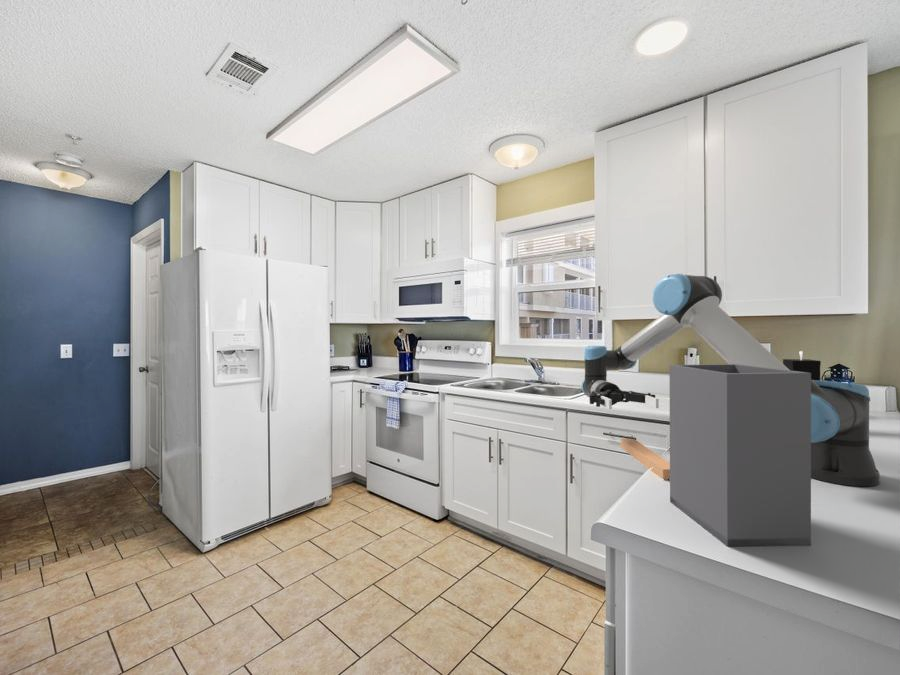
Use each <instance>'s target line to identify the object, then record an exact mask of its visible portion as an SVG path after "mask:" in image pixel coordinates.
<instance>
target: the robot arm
mask: <svg viewBox="0 0 900 675" xmlns="http://www.w3.org/2000/svg"><path fill="white" fill-rule="evenodd" d="M652 293H653V296H652V303H653V306H654V308H655V309H656V310H657V311H658V312H659V313H660V314H661V315H659V316H658V317H657V318H655V319H654V320H653V321H652V322H650V323H648V325H647V326H645V327H644V328H642V329H641V330H639V332H637V333H636V334H634V335H633V336H632V337H631V338H629V339H628V340H627V341H626V342H624V343H623V344H621V345H620V346H619V347H618V348H616V349H613V350H612V349H609V350H608V349H607V347H606V346H605V345H587V346H586V347H584V357H583V358H584V379H583V380H582V382H581V384H580V386H581V391H582V393H583V394H584V395H585V396H586V397H588V398H589V404H590V405H594V404H595V407H597V408H598V407H601V406H602V407H604V408H607V409H608V410H612V408H613V406H614V405H616V404H617V403H620V402H621V403H629V402H632V403H640V404H642V403H643V404H645V405H646V406H649V407H650V408H655V409H659V406H660V405H659V398H656V394H651V392H648V393H644V392H637V391H633V390H622V389H620V387H619V386H618V385H617V384H615V383H613V382H609V381H607V376H608V375H607V371H620V370H621V371H626V370H629V369H630V370H631V369H633V368H634V367H635V366H636V365H637V361H638V360H639V359H641V358H643V357H644V356H645V355H647V354H648V353H649V352H651V351H653V350H655V348H657V347H658V346H660V345H661V344H662V343H665V342H666V341H667V340H669V339H670V338H672V337H673V336H674V335H676V334H677V333H679V332H680V331H681V330H683V329H684V328H692V330H694V331H695V332H696V333H697V334H698V335H699V336H700V337H701V339H703V340H704V341H705V342H706V343H707V344H708V345H709V346H710V347H711V348H712V349H713V350H714V351H715V352H716V353H717V354H718V355H719V356H720V357H721V358H722V359H723V360H724V362H726V364H739V365H748V366H756V367H765V368H773V369H782V370H789V369H788V368H787V367H786V366H785V365H784V364H783V362H781V361H780V360H779V359H778V358H777V357H776V356H775V355H774V354H772V352H770V351H769V350H768V349H767V348H766V347H764V345H763V344H761V343H760V342H759V341H758V340H757V339H756V338H755V337H754V336H752V335H751V334H750V333H749V332H748V331H747V330H746V329H745V328H744V327H742V326H741V325H740V324H739V323H738V322H737V321H736V320H734V318H732V317H731V316H730V315H729V314H728V313H727V312H726V311H725V310H723V309H722V307H720V304H721V301H722V298H723V290H722V288H721V286H720V285H719V283H718V282H717V281H716V280H715V279H713V278H712V277H708V276H703V275H691V274H683V273H675V274H674V273H673V274H668V275H666V276H664V277H662V278H661V279H660V280H659V281H658V282H657V284H656V285H655V287H654V290H653V292H652ZM870 402H871V397H870V391H869V388H868V387H867V386H866V385H863V384H860V383H851V382H843V381H842V382H841V381H831V380H830V381H829V380H820V381H819V380H811V479H815V480H818V481H823V482H828V483H833V484H837V485H845V486H855V487H875V486H878V485H879V484H880V483H881V482H880V481H881V480H880V479H881V478H880V477H881V475H880V472H879V470H878V469H877V467H876V463H875V460H874V458H873V454H872V453H871V451H870Z"/></svg>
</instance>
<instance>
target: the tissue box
mask: <svg viewBox="0 0 900 675" xmlns="http://www.w3.org/2000/svg"><path fill="white" fill-rule="evenodd" d="M798 353H799V359H798V358H795V359H793V358H790V359H789V358H788V359H787V358H783V359H782V364H784V365H785V366H786V367H787V368H788V369H789V370H790V371H799V372H807V373H811V380H819V381H821V365H822V364H821V360H816V359H808V358H807V359H803V356H804V355H803V354H804V351H803V350H800V351H798Z"/></svg>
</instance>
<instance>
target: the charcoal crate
mask: <svg viewBox="0 0 900 675" xmlns="http://www.w3.org/2000/svg"><path fill="white" fill-rule="evenodd" d="M668 368H669V373H668V374H669V462H670V480H669V503H671V504H672V505H674V506H675V507H676V508H678V509H679V510H680V511H682V512H683V513H684V514H685V515H686V516H688V517H689V518H690V519H692V520H693V521H694V522H695V523H697V524H698V525H699V526H701V528H703V529H704V530H706V531H707V532H708V533H710V534H711V535H712V536H714V538H716V539H717V540H719V542H721V543H722V544H724V545H725V546H726V547H771V546H772V547H780V546H781V547H783V546H785V547H789V546H790V547H791V546H793V547H794V546H796V547H797V546H811V545H812V478H811V373H807V372H799V371H790V370H782V369H773V368H765V367H756V366H748V365H739V364H728V363H725V364H723V363H722V364H720V363H719V364H712V363H711V364H710V363H709V364H669V366H668Z"/></svg>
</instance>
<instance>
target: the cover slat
mask: <svg viewBox="0 0 900 675" xmlns="http://www.w3.org/2000/svg"><path fill="white" fill-rule="evenodd" d="M620 448H621V449H622V450H624V452H626V453H628V454H629V455H630V456H631V457H633V458H634V459H635V460H636V461H637V462H638V463H640V464H642V465H643V466H644V467H645V468H647V469H648V470H649V469H650V468H652V467H653V468H652V469H651V470H650V471H651V472H652V473H654V475H656V476H657V475H658V476H659V478H660V479H661V478H662V479H670V461H668V460H667V459H665V458H663V457H662V456H661V455H659V454H658V453H656V452H654V451H653V450H651V448H648V447H647V446H645V445H644V444H642V443H641V442H640V441H638V440H636V439H634V438H620ZM658 476H657V477H658ZM662 479H661V480H662Z"/></svg>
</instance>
